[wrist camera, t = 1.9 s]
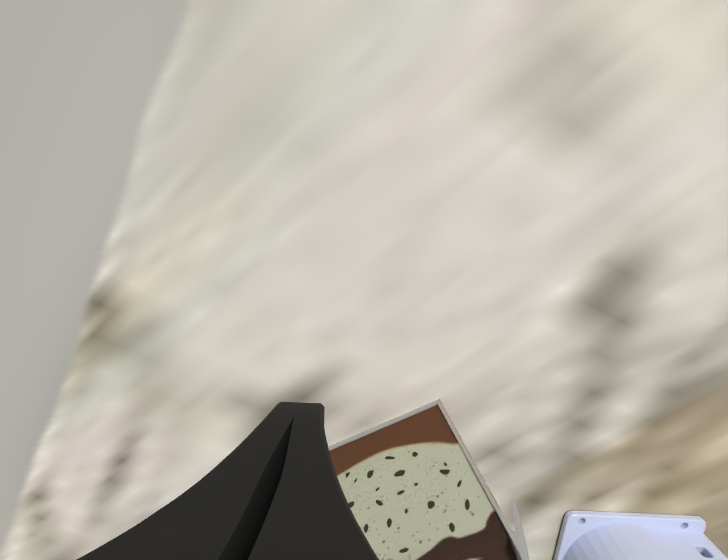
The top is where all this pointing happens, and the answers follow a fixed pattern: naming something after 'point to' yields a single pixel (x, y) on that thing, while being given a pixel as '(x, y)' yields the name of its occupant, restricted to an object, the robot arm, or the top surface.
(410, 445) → the food container
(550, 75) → the top surface
